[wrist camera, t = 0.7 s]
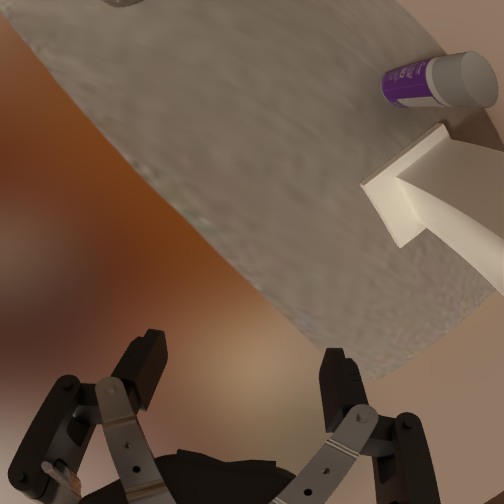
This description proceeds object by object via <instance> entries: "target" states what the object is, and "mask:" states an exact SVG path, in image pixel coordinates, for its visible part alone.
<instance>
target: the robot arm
mask: <svg viewBox="0 0 504 504" xmlns="http://www.w3.org/2000/svg"><path fill="white" fill-rule="evenodd" d="M102 1H104V2H105V3H107V4H109V5H111V6H114V7H125V6H130V5H132V4H135V3H138V2H140V1H142V0H102ZM167 359H168V351H167V345H166V339H165V333H164V331H161V330H155V329H148V330H147V332H146V334H145V335H144V337H139V336H138V337H137V338H136V339H135V340H133V341H132V342H131V343H130V345H129V346H128V348H127V350H126V351H125V353H124V355H123V356H122V358H121V359H120V361H119V363H118V364H117V366H116V368H115V369H114V371H113V373H112V374H111V376H110V377H105V378H102V379H101V380H99V381H98V383H97V384H86V383H80V381H79V379H78V378H77V377H76V376H74V375H64V376H62V377H60V378H59V379H58V380H57V381H56V383H55V384H54V386H53V387H52V389H51V391H50V392H49V394H48V396H47V397H46V399H45V401H44V402H43V404H42V406H41V407H40V409H39V411H38V413H37V415H36V416H35V418H34V420H33V421H32V423H31V425H30V427H29V429H28V431H27V433H26V434H25V436H24V438H23V440H22V442H21V444H20V446H19V448H18V450H17V452H16V454H15V456H14V458H13V460H12V463H11V465H10V467H9V469H8V479H9V481H10V483H11V485H12V486H13V487H14V488H15V489H17V490H18V491H20V492H21V493H23V494H24V495H25V496H26V497H28V498H29V499H31V500H33V501H34V502H36V503H38V504H324V503H325V502H326V501H327V499H328V498H329V497H330V496H331V494H332V493H333V492H334V490H335V489H336V488H337V486H338V485H339V484H340V482H341V481H342V480H343V478H344V477H345V476H346V474H347V473H348V471H349V470H350V468H351V467H352V465H353V464H354V462H355V461H356V459H357V458H358V454H361V455H367V456H372V462H373V470H374V480H375V490H376V501H377V504H441V503H440V497H439V492H438V487H437V482H436V477H435V473H434V469H433V464H432V460H431V456H430V452H429V448H428V444H427V441H426V437H425V434H424V430H423V427H422V423H421V421H420V419H419V418H418V416H416V415H415V414H413V413H409V412H404V413H401V414H399V415H398V416H397V418H391V417H385V416H381V415H378V413H377V412H376V410H375V409H374V408H372V407H371V406H369V404H368V401H367V397H366V393H365V390H364V386H363V383H362V379H361V376H360V372H359V369H358V366H357V364H356V363H355V362H354V361H353V360H352V358H345V355H344V351H343V349H342V348H327V349H326V351H325V355H324V358H323V361H322V365H321V367H320V371H319V383H320V391H321V398H322V405H323V413H324V420H325V429H326V433H329V432H333V435H332V436H331V437H330V438H329V440H327V441H326V442H325V443H324V445H323V446H322V448H320V450H319V451H318V452H317V454H316V455H315V456H314V457H313V458H312V459H311V460H310V462H309V463H308V464H307V465H306V466H305V467H304V468H303V470H302V471H301V472H300V473H299V474H298V475H297V476H296V475H294V474H293V473H291V472H289V471H287V470H285V469H282V468H279V467H276V461H264V460H245V461H236V462H223V461H220V460H217V459H214V458H212V457H209V456H207V455H204V454H202V453H197V452H191V451H186V450H181V449H178V450H177V454H170V455H164V456H160V457H157V458H155V457H154V455H153V453H152V451H151V449H150V447H149V444H148V442H147V440H146V438H145V435H144V433H143V431H142V428H141V426H140V424H139V421H138V419H137V416H136V415H137V413H138V411H139V410H141V411H145V412H146V411H147V408H148V406H149V404H150V401H151V399H152V397H153V394H154V392H155V389H156V387H157V385H158V382H159V380H160V378H161V375H162V373H163V370H164V368H165V366H166V364H167ZM97 424H102V428H103V432H104V435H105V438H106V441H107V444H108V447H109V450H110V453H111V456H112V459H113V462H114V465H115V467H116V470H117V473H118V475H119V477H120V479H118V480H116V481H114V482H112V483H110V484H108V485H107V486H105V487H103V488H101V489H99V490H97V491H95V492H93V493H91V494H88V495H86V496H84V497H83V498H82V497H81V482H80V480H79V478H78V477H77V476H76V475H77V472H78V469H79V467H80V464H81V461H82V459H83V456H84V454H85V451H86V449H87V446H88V443H89V441H90V439H91V436H92V434H93V431H94V429H95V427H96V425H97Z"/></svg>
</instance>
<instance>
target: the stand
mask: <svg viewBox="0 0 504 504" xmlns="http://www.w3.org/2000/svg"><path fill="white" fill-rule="evenodd" d="M359 184H360V185H361V187H362V188H363V190H364V191H365V193H366V194H367V196H368V198H369V199H370V201H371V202H372V204H373V205H374V207H375V209H376V210H377V212H378V214H379V215H380V217H381V219H382V220H383V222H384V224H385V225H386V227H387V229H388V231H389V232H390V234H391V236H392V238H393V239H394V241H395V243H396V244H397V245H398V246H399V247H400V248H401V247H403V246H404V245H405V244H407V243H408V242H409V241H410V240H412V239H413V238H414V237H416V236H417V235H418V234H419V233H420V232H422V231H423V230H424V229H425V228H428V229H429V230H430V231H432V232H433V233H434V234H435V235H437V236H438V237H439V238H440V239H442V240H443V241H444V242H445V243H447V244H448V245H449V246H450V247H451V248H453V249H454V250H455V251H456V252H457V253H458V254H460V255H461V256H462V257H463V258H464V259H465V260H466V261H467V262H469V263H470V264H471V265H472V266H473V267H474V268H475V269H476V270H477V271H478V272H480V273H481V274H482V275H483V276H484V277H485V278H486V279H487V280H488V281H489V282H490V283H491V284H492V285H493V286H494V287H495V288H496V289H497V290H498V291H499V292H500V293H501V294H502V295H503V296H504V152H501V151H498V150H494V149H491V148H487V147H483V146H479V145H475V144H471V143H466V142H462V141H457V140H452V139H451V138H450V136H449V134H448V132H447V130H446V128H445V126H444V124H441V123H436V124H435V125H434V126H433V127H431V128H430V129H429V130H427V131H426V132H425V133H424V134H422V135H421V136H420V137H418V138H417V139H416V140H415V141H413V142H412V143H411V144H409V145H408V146H407V147H405V148H404V149H403V150H402V151H400V152H399V153H398V154H396V155H395V156H394V157H393V158H391V159H390V160H389V161H387V162H386V163H385V164H383V165H382V166H381V167H379V168H378V169H377V170H376V171H374V172H373V173H372V174H370V175H369V176H368V177H366V178H365V179H364V180H362V181H361V182H360V183H359Z"/></svg>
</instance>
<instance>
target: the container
mask: <svg viewBox="0 0 504 504" xmlns="http://www.w3.org/2000/svg"><path fill="white" fill-rule="evenodd" d="M380 89H381V93H382V95H383V97H384V98H385V100H386V101H387V102H388V103H390V104H391V105H393V106H395V107H482V108H489V107H491V106H493V105H494V104H495V102H496V100H497V97H498V83H497V79H496V76H495V73H494V71H493V69H492V67H491V66H490V64H489V63H488V62H487V60H486V59H485V58H484V57H483V56H481V55H480V54H478V53H476V52H464V53H458V54H452V55H446V56H441V57H436V58H432V59H428V60H424V61H421V62H417V63H414V64H410V65H407V66H404V67H401V68H398V69H395V70H392V71H389V72H387V73H385V74H384V75H383V76H382V78H381V81H380Z"/></svg>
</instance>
